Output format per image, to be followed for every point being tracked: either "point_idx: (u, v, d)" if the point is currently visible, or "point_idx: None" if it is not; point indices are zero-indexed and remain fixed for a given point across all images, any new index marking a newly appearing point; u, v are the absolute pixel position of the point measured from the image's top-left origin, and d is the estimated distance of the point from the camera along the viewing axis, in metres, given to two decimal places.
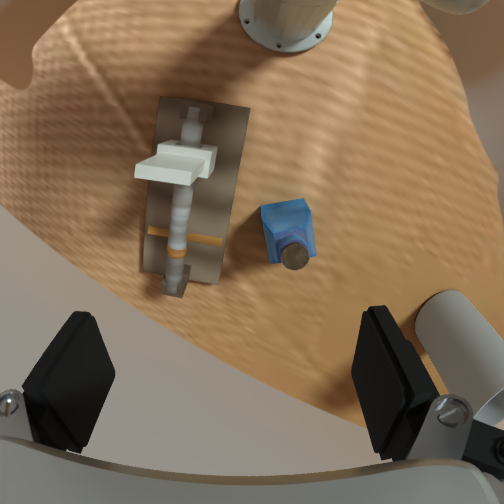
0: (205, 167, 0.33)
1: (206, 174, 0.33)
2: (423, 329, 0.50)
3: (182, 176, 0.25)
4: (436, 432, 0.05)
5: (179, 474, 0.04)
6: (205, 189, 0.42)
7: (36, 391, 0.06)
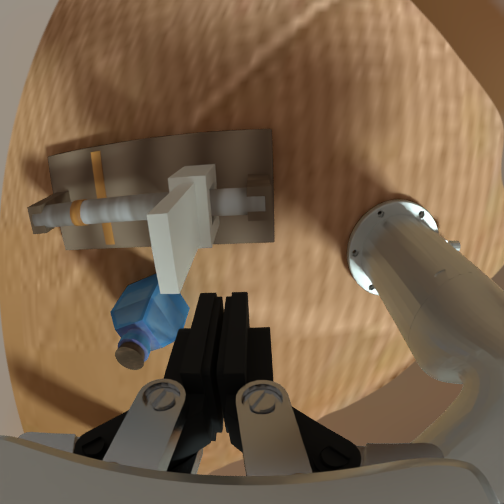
0: None
1: None
2: None
3: (169, 282, 0.18)
4: (257, 424, 0.06)
5: (179, 474, 0.04)
6: None
7: (200, 375, 0.07)
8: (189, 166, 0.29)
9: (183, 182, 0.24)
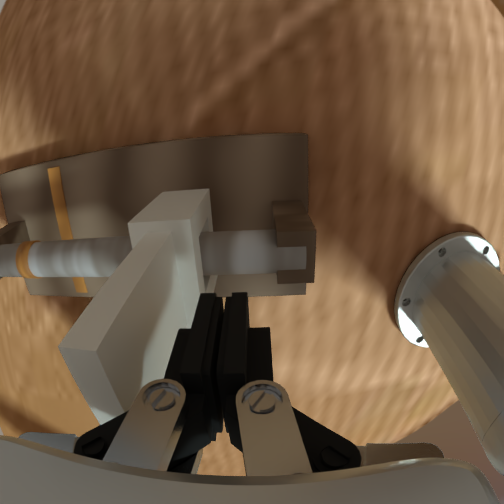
0: None
1: None
2: None
3: None
4: (257, 424, 0.06)
5: (179, 474, 0.04)
6: None
7: (200, 375, 0.07)
8: (170, 192, 0.19)
9: (153, 230, 0.14)
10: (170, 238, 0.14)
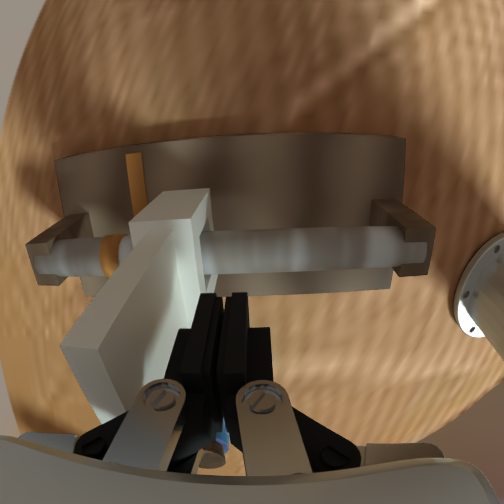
0: None
1: None
2: None
3: None
4: (257, 424, 0.06)
5: (179, 474, 0.04)
6: None
7: (200, 375, 0.07)
8: (170, 192, 0.19)
9: (154, 230, 0.14)
10: (171, 237, 0.14)
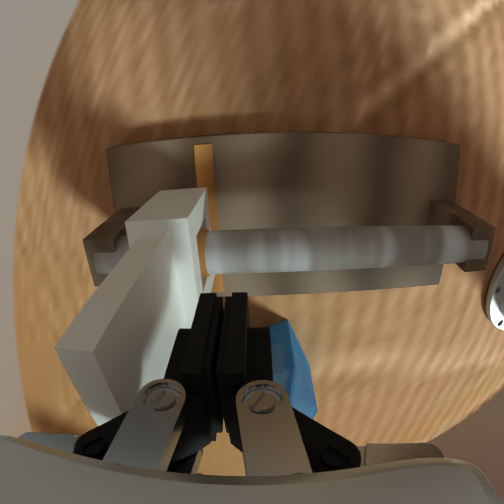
0: None
1: None
2: None
3: None
4: (257, 424, 0.06)
5: (179, 474, 0.04)
6: None
7: (200, 375, 0.07)
8: (167, 191, 0.19)
9: (150, 229, 0.14)
10: (167, 237, 0.14)
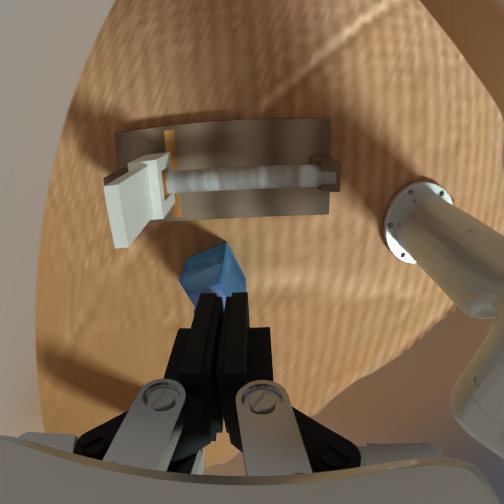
0: None
1: None
2: None
3: (120, 238, 0.23)
4: (257, 424, 0.06)
5: (179, 474, 0.04)
6: None
7: (200, 375, 0.07)
8: (149, 154, 0.33)
9: (139, 166, 0.28)
10: (147, 168, 0.28)
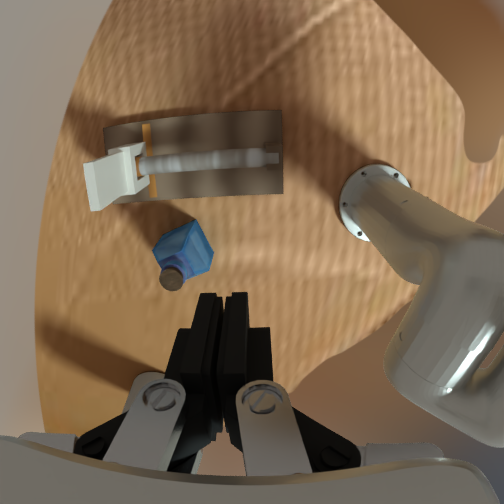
0: None
1: None
2: (145, 383, 0.59)
3: (94, 203, 0.29)
4: (257, 424, 0.06)
5: (179, 474, 0.04)
6: (198, 170, 0.44)
7: (200, 375, 0.07)
8: (128, 144, 0.39)
9: (116, 151, 0.34)
10: (122, 153, 0.34)
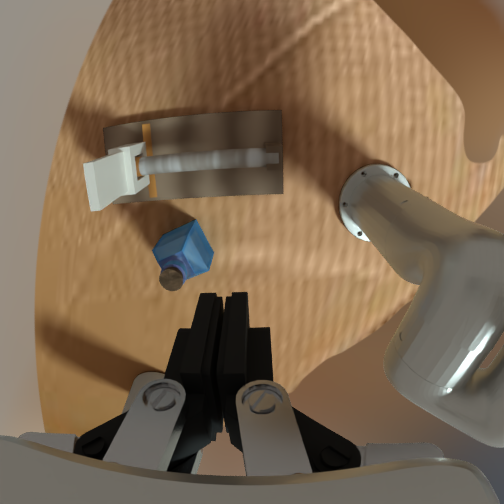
0: None
1: None
2: (145, 383, 0.59)
3: (94, 203, 0.29)
4: (257, 424, 0.06)
5: (179, 474, 0.04)
6: (198, 170, 0.44)
7: (200, 375, 0.07)
8: (128, 144, 0.39)
9: (116, 151, 0.34)
10: (122, 153, 0.34)
